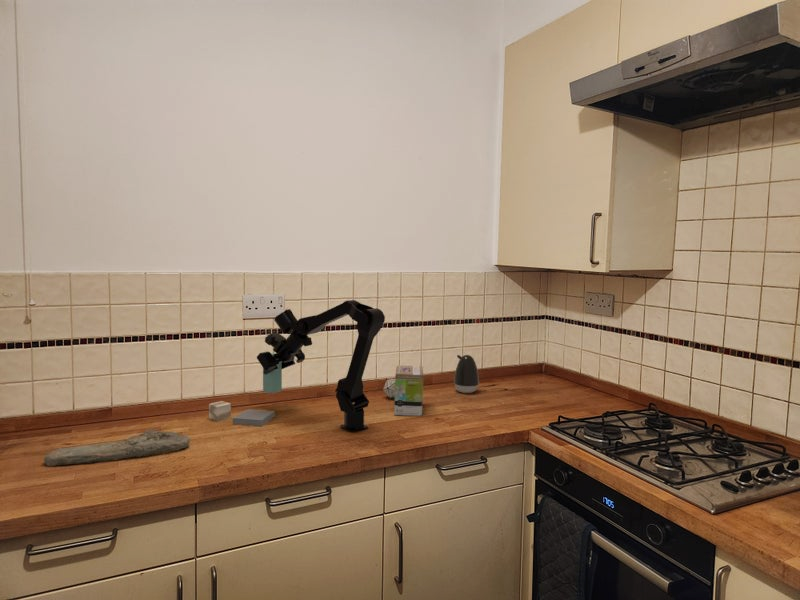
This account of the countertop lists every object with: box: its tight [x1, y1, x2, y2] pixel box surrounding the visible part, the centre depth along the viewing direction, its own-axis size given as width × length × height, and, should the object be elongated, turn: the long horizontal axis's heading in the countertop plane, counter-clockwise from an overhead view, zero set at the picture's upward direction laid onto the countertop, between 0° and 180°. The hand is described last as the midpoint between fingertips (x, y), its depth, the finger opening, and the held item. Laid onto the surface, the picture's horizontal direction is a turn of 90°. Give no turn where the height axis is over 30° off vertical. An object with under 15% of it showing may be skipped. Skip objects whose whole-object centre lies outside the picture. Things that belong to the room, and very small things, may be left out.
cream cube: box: [208, 400, 232, 422], centre depth 176 cm, size 5×5×5 cm
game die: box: [380, 377, 395, 400], centre depth 204 cm, size 9×8×10 cm
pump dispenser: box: [453, 354, 480, 394], centre depth 215 cm, size 10×10×15 cm
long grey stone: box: [43, 428, 191, 467], centre depth 144 cm, size 35×5×10 cm
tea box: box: [393, 365, 424, 417], centre depth 189 cm, size 15×10×15 cm
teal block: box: [262, 352, 283, 394], centre depth 185 cm, size 4×4×13 cm
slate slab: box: [232, 408, 276, 427], centre depth 175 cm, size 10×10×2 cm
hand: (269, 372), depth 186 cm, fingers closed on teal block, 4 cm apart
